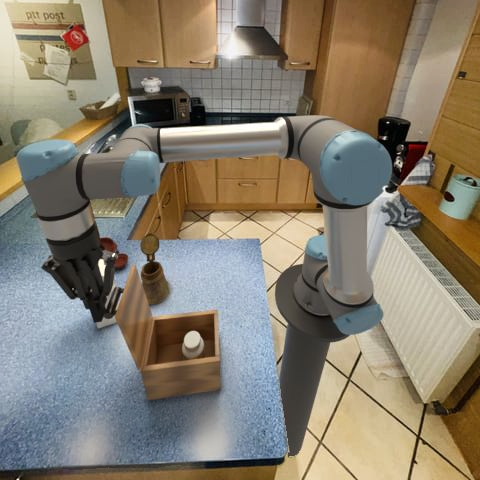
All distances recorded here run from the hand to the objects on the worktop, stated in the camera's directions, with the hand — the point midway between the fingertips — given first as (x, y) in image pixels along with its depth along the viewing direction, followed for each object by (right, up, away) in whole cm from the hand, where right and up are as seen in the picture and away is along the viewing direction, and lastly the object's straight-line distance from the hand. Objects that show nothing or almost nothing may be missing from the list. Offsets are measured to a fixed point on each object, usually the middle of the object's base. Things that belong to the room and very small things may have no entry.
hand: (100, 315), depth 53 cm
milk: (-10, -15, +23) cm, 29 cm away
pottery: (-21, -5, +43) cm, 48 cm away
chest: (+16, -20, +11) cm, 28 cm away
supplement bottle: (+18, -19, +11) cm, 29 cm away
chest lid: (+8, -1, +1) cm, 8 cm away
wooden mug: (+1, -10, +32) cm, 34 cm away
